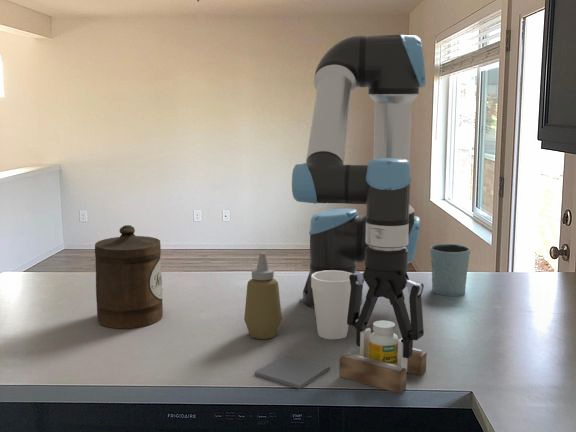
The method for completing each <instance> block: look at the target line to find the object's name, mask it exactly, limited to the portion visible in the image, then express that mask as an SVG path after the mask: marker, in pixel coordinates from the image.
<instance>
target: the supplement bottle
mask: <svg viewBox="0 0 576 432" xmlns="http://www.w3.org/2000/svg"><path fill="white" fill-rule="evenodd" d="M372 330H373V332H371V335H370V337H369V358H371V359H375V360H379V361H383V362H387V363H391V364H394V365H397V358H398V341H399V340H400V339H399V337H398V335H397V334H396V333H395V332H396V323H395V322H393V321H390V320H382V319H381V320H376V321H374V322H373V323H372Z"/></svg>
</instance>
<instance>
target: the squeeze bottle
mask: <svg viewBox="0 0 576 432" xmlns="http://www.w3.org/2000/svg"><path fill="white" fill-rule="evenodd" d="M268 263H269V262H268V259H267V255H266V253H265V252H261V253H259V257H258V261H257V265H256V268H254V269H252V270H251V278H250V279H249V280H248V281H247V286H246V293H245V294H246V295H245V307H244V318H243V319H244V323H245V326H246V328H247V332H248V334H249V336H250V337H251V338H253V339H258V340H259V339H260V340H266V339H272V338H274V337H276V336H277V333H278V330H279V329H280V324H281V323H282V319H283V317H282V316H283V315H282V308H281V307H282V305H281V297H280V288H279V287H280V286H279V282H278V280H276V279H275V278H274V277H275V276H274V274H275V273H274V271H275V270H274V269H272V268H270V267H269V264H268Z"/></svg>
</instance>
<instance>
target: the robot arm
mask: <svg viewBox="0 0 576 432" xmlns="http://www.w3.org/2000/svg"><path fill="white" fill-rule="evenodd" d="M424 58H425V57H424V48H423V43H422V40H421V38H420V37H418V35H410V34H392V35H391V34H387V35H386V34H385V35H382V34H381V35H353V36H350V37H349V36H348V37H346V38H344V39H342V40H340V41H338V42H337V43H335V44H334V45H333V46H332V47H330V48H329V49H328V50H327V52H325V54H324V55H323V56H322V58H321V59H320V61H319V62H318V64H317V65H316V69H315V72H314V77H313V85H314V88H315V91H316V95H315V101H314V107H313V115H312V121H311V127H310V128H311V129H310V134H309V140H308V148H307V154H306V160H305V163H304V162H303V163H298V164H295V165H294V167H293V169H292V173H291V194H292V197H293V199H294V200H295V201H296V202H299V203H307V204H314V205H315V204H347V205H348V204H349V205H366V209H365V214H364V215H361V214H359V212H358V210H357V209H355V208H346V207H345V208H342V207H341V208H335V209H328V210H322V211H319V212H317V213H315V214H313V215H312V217H311V219H310V225H309V226H310V227H309V232H308V234H309V272H308V275H307V278H306V281H305V285H304V287H303V291H302V302H303V303H304V304H305V305H307V306H309V307H311V308H314V309H315V307H314V298H313V290H312V287H311V276H312V274H313V273H315V272H319V271H325V270H337V271H345V272H350V273H352V275H350V276H349V279H350V284H351V292H350V300H349V308H348V317H347V324H348V327H354V328H355V330H356V334H355V335H356V338H355V339H356V341H355V342H356V343H355V344H356V346H357V347H359V356H363V357H367V358H369V337H370V335H371V334H372V328H370V327H368V326H369V322H370V319H371V317H372V314H373V311H374V310H375V307H376V303H377V301H378V298H385V299H387V300H388V301H389V303H390V305H391V306H392V309H393V313H394V315H395V319H396V322H397V326H398V329H399V331H400V336H401V338H400V339H399V341H398V358H397V365H398V366H402V368H405V369H407V361H408V358H409V357H411V355H412V350H413V349H412V348H414V346H413V345H414V341H418V340H419V339H421V338H422V337H423V336H424V333H425V331H424V319H423V318H424V317H423V305H422V304H423V303H422V302H423V301H422V294H423V291H424V287H425V284H424V283H423V282H421V281H419V282H415V281H413V280H410V278H409V276H408V275H409V274H408V272H407V271H408V264H410V263H411V262H412V261H413V260H414V259H415V255H416V251H417V247H418V241H419V235H420V226H421V218H420V217H419V216H417V215H415V209H414V208H413V206H412V205H410V197H411V196H410V195H411V182H412V175H411V163H410V162H411V161H410V159H411V136H412V135H411V133H412V131H411V129H412V103H413V102H414V100H415V99H416V98H417V97H418V96H419V91H420V89H421V88H423V87H425V86H426V70H425V69H426V67H425V59H424ZM356 88H367V89H368V97H370V99H371V100H373V102H374V119H373V120H374V121H373V158H371V159H369V160H368V162H367V164H345V155H346V144H347V136H348V125H349V115H350V113H349V112H350V104H351V95H352V94H353V93H354V91H355V90H356ZM357 263H364V266H365V269H364V271H363V272H360V271H357ZM365 283H366V285H367V287H368V290H367V292H366V296H365V301H364V303H363V290H364V289H363V288H364V284H365ZM406 288H407V293H408V294H409V299H408V300H409V301H408V303H409V313H408V309H407V306H406V303H405V300H406V299H405V295H404V289H406ZM362 303H363V306H362V309H361V305H362ZM409 315H410V316H409ZM406 373H408V372H407V371H406Z"/></svg>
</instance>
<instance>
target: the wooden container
mask: <svg viewBox="0 0 576 432" xmlns="http://www.w3.org/2000/svg"><path fill="white" fill-rule="evenodd" d="M135 232H136V229H135V227H134V226H132V225H129V224H128V225H123V226H121V227H120V228H119V233H120V236H116V237H115V236H114V237H110V238H104V239H101V240H98V241H96V242H95V244H94V256H95V295H96V296H95V298H96V316H97V317H96V318H97V323H99V324H100V326H104V327H106V328H112V329H122V330H123V329H125V330H126V329H136V328H143V327H146V326H150V325H152V324H155V323H157V322H159V321H160V320H161V319H162V318H163V316H164V314H163V313H164V310H163V308H164V307H163V279H162V277H163V276H162V260H161V257H162V256H161V240H160V239H158V238H157V237H152V236H143V235H141V236H140V235H135Z"/></svg>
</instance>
